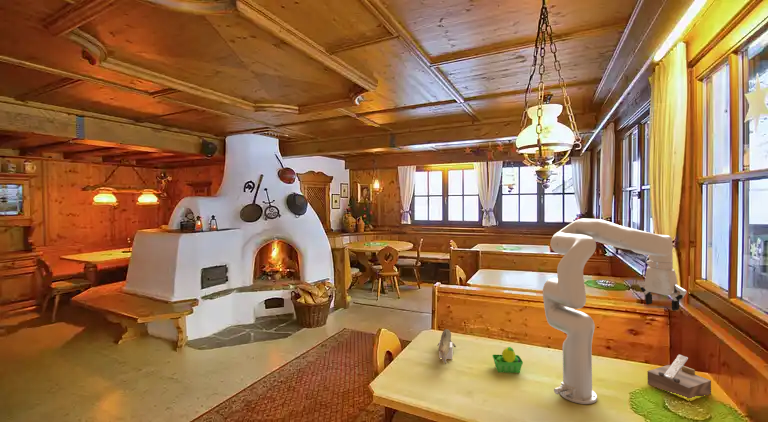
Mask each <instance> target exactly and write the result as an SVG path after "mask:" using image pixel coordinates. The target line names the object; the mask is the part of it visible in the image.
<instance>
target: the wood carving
mask: <svg viewBox="0 0 768 422" xmlns="http://www.w3.org/2000/svg"><path fill="white" fill-rule="evenodd" d="M441 333H442V334H441V337H440V339H439V342H438V344H437V346H438V356H439V357H438V359H439V358H442V359H441V360H442V362H443V363H444V364H447V360H446V359H452V360H453V358H452V357H453V356H454V355H453V354H454V352H453V347H454V348H457V346H456V344H455V343H454V342H453V341H452V333H451V330H449V329H447V328H445V329H444V330H443V331H442V332H441Z"/></svg>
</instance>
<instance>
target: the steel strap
mask: <svg viewBox="0 0 768 422" xmlns="http://www.w3.org/2000/svg"><path fill="white" fill-rule="evenodd" d="M688 359H689V357H688V356H685V355H682V354H678V355H676V358H675V359H673V362H672V363H671V364H670V365H671V366H670V367H669V368H668V370H667V371H666V373H665V374H664V376H665V377H667V378H670V379H672V380H674V378H675V377H676V375H677V374H678V372H679V371H680V369H682V367H683V366H685V364H686V362H687V361H688Z"/></svg>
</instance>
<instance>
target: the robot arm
mask: <svg viewBox="0 0 768 422" xmlns="http://www.w3.org/2000/svg"><path fill="white" fill-rule="evenodd" d="M596 242H597V243H600V244H603V245H608V246H611V247H614V248H617V249H623V250H629V251H632V252H634V253H636V254H639V255H646V256H649V258H648V260H646V264H647V265H648V266H647V268H646V272H645V277H644V280H643V281H639V282H638V286H639V288H640V290H641V291H642V292H643V295H644V296H645V297H644V298H645V299H644V301H645V305H651V304H653V294H652V293H654V294H659V295H663V296H669V297H670V298H671V311H672V312H673V311H679V309H680V300H682V299H683V298H685V296H686V295H687V293H688V291H687V290H686V289H684V288H683V287H681V286H680V285H678V279H677V274H676V269H674V264H673V263H674V262H673V261H674V260H673V249H674V246H673V238H672V236H671V235H667V234H657V233H654V232H653V233H652V232H649V231H644V230H639V229H636V228H633V227H627V226H623V225H619V224H618V223H613V222H611V221H608V220H604V219H599V218H579V219H576V220H574V221H572V222H570V223H569V224H568V225H566V226H564V227H563V228H562V229H560V230H559V231H557V232H556V233H554V234H553V236H552V238H551V239H550V248H551V249H552V251H553V252H555V253H556V254H557V255H558V254H559V255H563V256H562V258H561V259H560V261H559V262H558V264H557V268H556V271H557V272H556V273H557V276H556V277H552V278H549V279H547V280H546V281H545V282H544V285H543V286H542V287H543V288H542V299H543V306H544V312H545V313H544V314H545V317H546V322H547V324H548V325H549V326H550V327H552V328H554V329H555V330H558V331H561V332H563V333H564V334H566V338H565V339H564V341H563V342H562V381H561V383H560V386H558V387H555V388H553V392H554V393H555V395H560V396H561V397H562V398H564V399H565V400H567V401H570V402H572V403H576V404H581V405H591V404H595V403H596V402H597V401H598V395H597V393H596V392H595V391H594V390H593V361H592V360H593V356H592V354H593V353H592V352H593V351H592V345H593V338H594V334H595V333H594V332H595V327H596V326H595V322H594V319H593V318H592V317H591V316H590V315H589V314H588V313H585V312H583V311H581V310H578V309H582V308H583V307H584V306H585V305H586V304H587V303H586V302H587V295H586V294H587V293H586V288H585V279H584V269H585V265H586V264H587V262H588V261H589V259H590V258H591V257H592V256H593V255H594V254H595V251H596V249H597V243H596ZM678 292H679V294H678Z"/></svg>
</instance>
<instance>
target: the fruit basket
mask: <svg viewBox="0 0 768 422" xmlns="http://www.w3.org/2000/svg"><path fill="white" fill-rule="evenodd" d="M492 358H493V362H494V365H495V369H496V371H497V373H506V374H509V373H511V374H514V373H515V374H520V372H521V370H522V366H523V363H524V362H523V360H522V359H521V356H519V355H518V354H516V353H515V351H514V349H513V347H511V346H508V347H506V348H504V349H503V350H502V353H501V354H492Z"/></svg>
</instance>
